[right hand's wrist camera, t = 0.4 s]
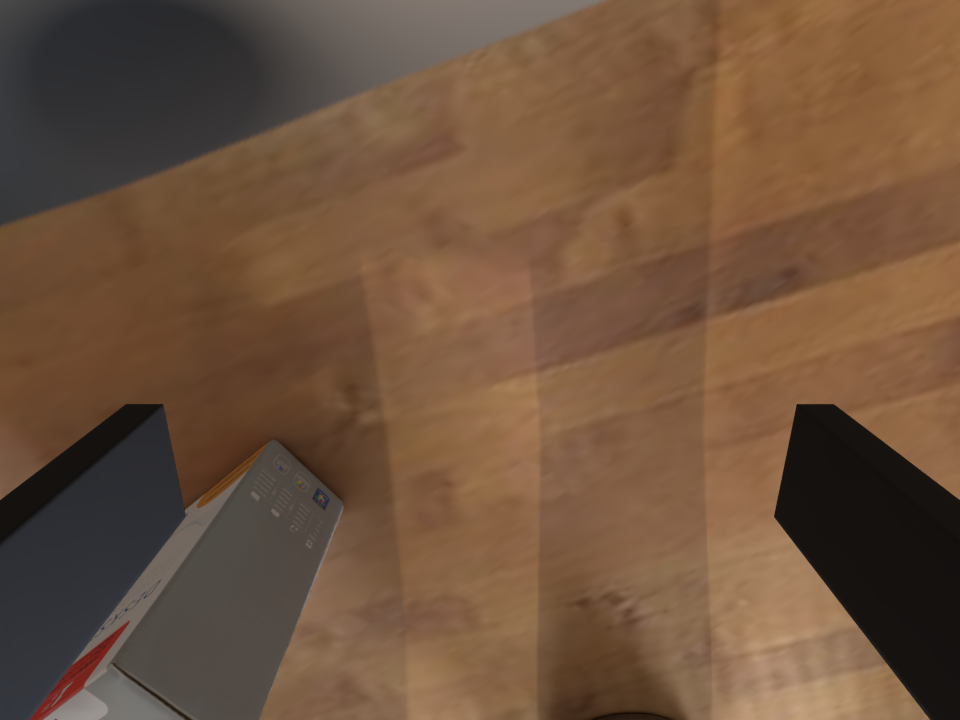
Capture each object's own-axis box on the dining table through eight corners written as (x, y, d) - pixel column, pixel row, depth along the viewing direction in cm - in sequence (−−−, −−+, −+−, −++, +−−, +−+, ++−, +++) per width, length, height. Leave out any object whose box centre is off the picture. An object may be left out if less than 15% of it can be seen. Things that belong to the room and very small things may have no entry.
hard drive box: (273, 432, 43) (115, 661, 24) (348, 502, 45) (255, 763, 26) (134, 547, 46) (-97, 824, 28) (209, 607, 49) (41, 903, 30)
